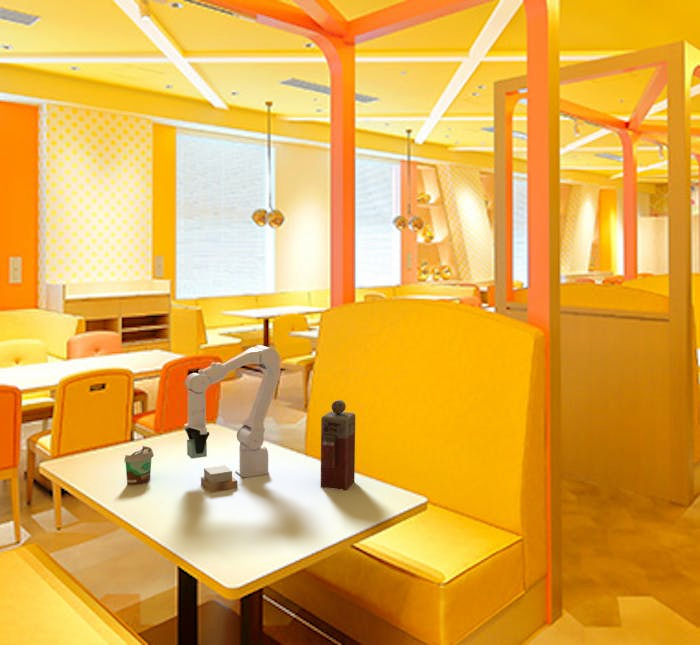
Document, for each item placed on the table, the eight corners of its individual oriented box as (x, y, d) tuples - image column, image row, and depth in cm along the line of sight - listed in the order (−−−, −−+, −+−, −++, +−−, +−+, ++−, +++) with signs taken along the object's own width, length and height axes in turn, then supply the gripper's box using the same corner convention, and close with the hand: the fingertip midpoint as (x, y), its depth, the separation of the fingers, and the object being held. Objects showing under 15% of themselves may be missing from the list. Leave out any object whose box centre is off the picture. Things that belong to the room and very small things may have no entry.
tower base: (227, 481, 225) (227, 473, 225) (237, 489, 218) (237, 480, 218) (201, 486, 221) (201, 477, 221) (210, 494, 213) (210, 485, 213)
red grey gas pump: (317, 489, 218) (318, 403, 215) (329, 478, 228) (330, 396, 226) (344, 492, 215) (345, 405, 212) (354, 481, 226) (355, 398, 223)
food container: (142, 487, 217) (142, 457, 216) (124, 486, 218) (124, 455, 217) (160, 475, 229) (160, 446, 228) (143, 474, 230) (143, 445, 229)
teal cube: (202, 452, 226) (201, 438, 225) (206, 456, 222) (206, 441, 221) (187, 454, 223) (187, 439, 223) (191, 458, 219) (191, 443, 219)
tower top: (224, 474, 224) (224, 465, 224) (232, 480, 218) (232, 471, 217) (204, 477, 220) (204, 468, 220) (210, 483, 214) (210, 474, 214)
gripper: (178, 407, 225) (178, 447, 227) (191, 416, 213) (191, 458, 214) (199, 405, 229) (199, 444, 230) (213, 413, 216) (213, 455, 218)
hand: (197, 451), depth 222 cm, fingers closed on teal cube, 5 cm apart
